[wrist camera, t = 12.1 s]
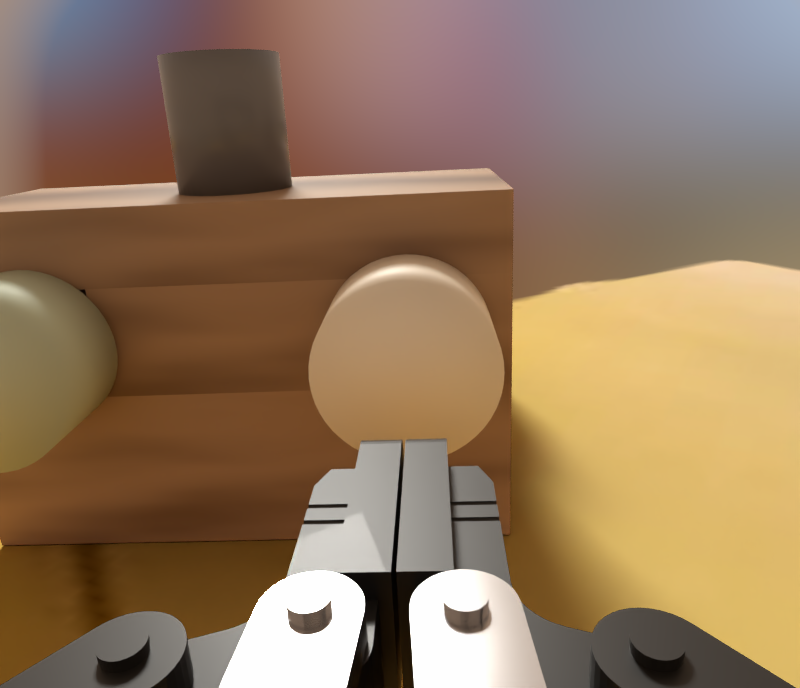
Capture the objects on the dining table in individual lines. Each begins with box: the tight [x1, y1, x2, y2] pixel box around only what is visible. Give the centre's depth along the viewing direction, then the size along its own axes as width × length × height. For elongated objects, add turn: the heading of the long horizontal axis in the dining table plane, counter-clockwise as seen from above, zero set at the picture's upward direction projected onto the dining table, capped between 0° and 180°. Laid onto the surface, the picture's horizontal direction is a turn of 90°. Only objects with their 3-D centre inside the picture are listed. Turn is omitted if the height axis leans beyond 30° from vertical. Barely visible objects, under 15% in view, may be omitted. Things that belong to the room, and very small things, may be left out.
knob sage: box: [0, 270, 118, 473], centre depth 22 cm, size 12×5×5 cm, turn 178°
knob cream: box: [308, 254, 505, 455], centre depth 21 cm, size 12×5×5 cm, turn 178°
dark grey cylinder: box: [157, 49, 292, 196], centre depth 21 cm, size 4×4×4 cm
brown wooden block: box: [0, 168, 513, 545], centre depth 23 cm, size 7×17×11 cm, turn 88°
